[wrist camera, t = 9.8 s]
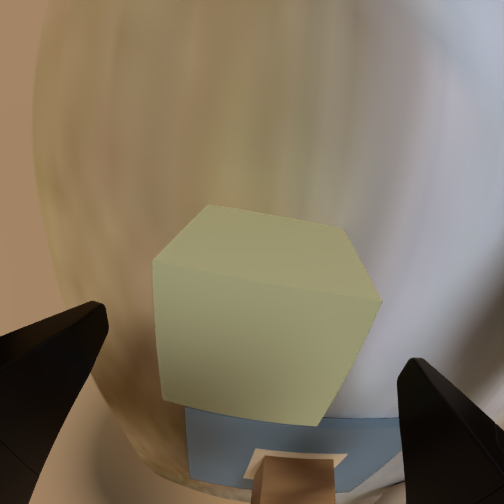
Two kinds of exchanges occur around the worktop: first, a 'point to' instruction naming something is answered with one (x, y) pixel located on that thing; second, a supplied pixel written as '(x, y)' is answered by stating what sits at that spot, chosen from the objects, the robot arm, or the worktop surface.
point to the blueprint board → (286, 446)
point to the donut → (394, 495)
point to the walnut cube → (294, 481)
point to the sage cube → (259, 315)
